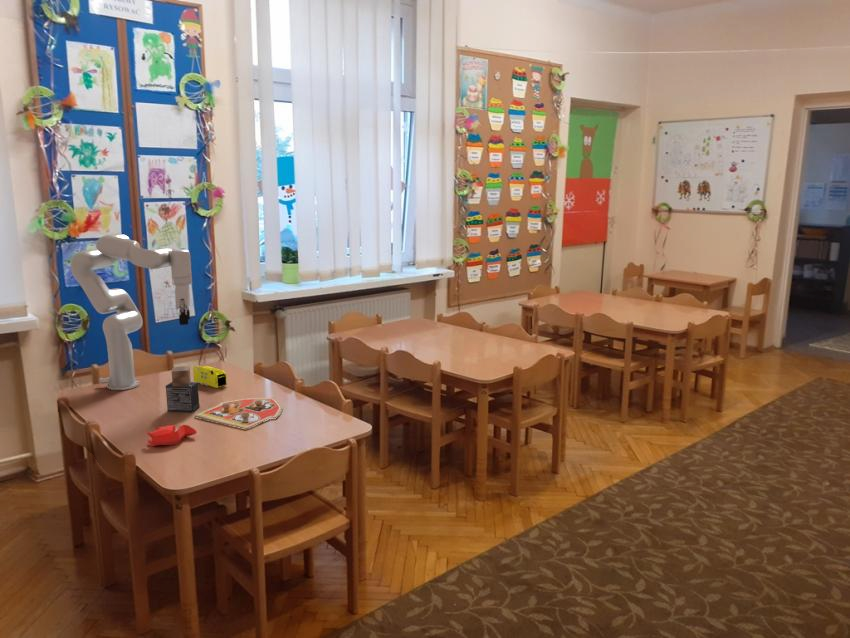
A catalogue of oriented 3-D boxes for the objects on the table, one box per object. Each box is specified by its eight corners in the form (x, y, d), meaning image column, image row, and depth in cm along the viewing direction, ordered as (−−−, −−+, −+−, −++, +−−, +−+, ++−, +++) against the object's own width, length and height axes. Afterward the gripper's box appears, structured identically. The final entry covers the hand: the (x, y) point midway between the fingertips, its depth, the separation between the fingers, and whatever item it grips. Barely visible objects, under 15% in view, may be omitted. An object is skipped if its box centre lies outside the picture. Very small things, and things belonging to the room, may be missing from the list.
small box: (200, 407, 259) (198, 381, 257) (193, 412, 253) (191, 386, 250) (174, 405, 260) (172, 380, 258) (166, 411, 253) (164, 385, 251)
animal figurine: (201, 440, 228) (200, 426, 227) (158, 451, 218) (157, 437, 217) (186, 430, 236) (186, 417, 235) (144, 441, 226) (143, 427, 225)
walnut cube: (172, 386, 250) (171, 371, 249) (174, 381, 256) (173, 367, 255) (189, 385, 252) (188, 370, 250) (190, 380, 257) (189, 366, 256)
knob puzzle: (191, 418, 248) (190, 407, 247) (246, 396, 274) (245, 385, 273) (250, 433, 235) (250, 421, 234) (302, 407, 260) (302, 397, 259)
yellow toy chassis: (193, 383, 288) (191, 364, 286) (203, 380, 293) (202, 361, 291) (216, 390, 279) (215, 371, 278) (227, 386, 284) (226, 368, 282)
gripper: (174, 277, 272) (177, 318, 276) (170, 284, 256) (173, 327, 260) (193, 276, 274) (195, 317, 278) (190, 283, 258) (193, 326, 262)
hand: (184, 321), depth 269 cm, fingers open, 9 cm apart
